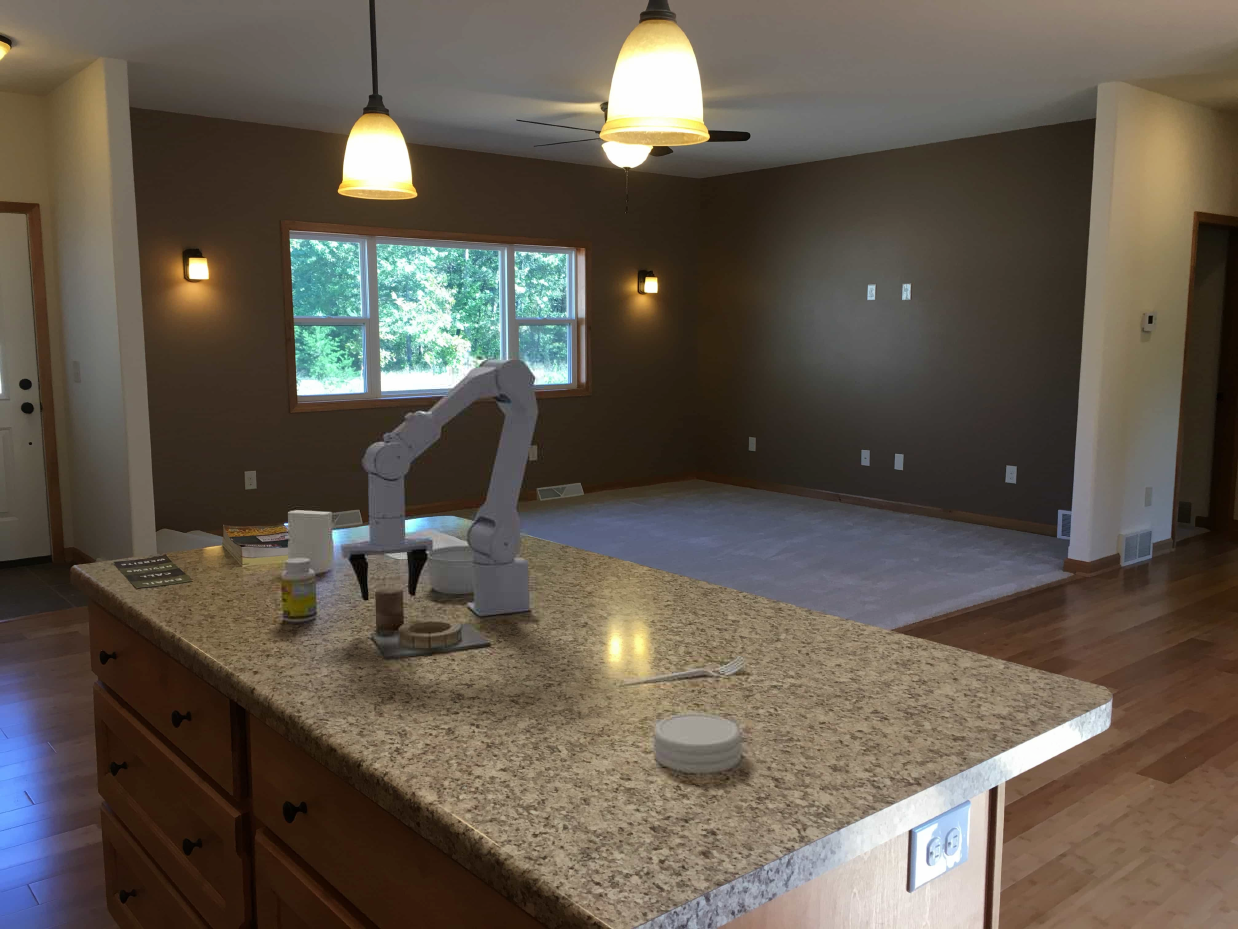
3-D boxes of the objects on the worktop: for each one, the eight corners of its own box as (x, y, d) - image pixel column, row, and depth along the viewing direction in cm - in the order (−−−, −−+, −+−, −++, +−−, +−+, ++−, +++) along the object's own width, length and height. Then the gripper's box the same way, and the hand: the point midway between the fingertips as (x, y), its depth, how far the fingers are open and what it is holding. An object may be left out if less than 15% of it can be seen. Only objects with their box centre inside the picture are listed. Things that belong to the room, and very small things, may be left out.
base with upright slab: (280, 572, 200) (277, 514, 199) (306, 563, 209) (304, 507, 207) (318, 575, 198) (315, 517, 196) (342, 565, 206) (341, 509, 205)
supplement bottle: (283, 615, 168) (280, 557, 167) (316, 613, 169) (314, 555, 168) (282, 624, 162) (279, 564, 161) (317, 622, 164) (314, 562, 163)
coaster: (734, 739, 116) (734, 711, 116) (747, 776, 106) (748, 745, 106) (650, 740, 116) (650, 712, 115) (656, 777, 106) (656, 746, 105)
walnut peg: (400, 621, 164) (399, 587, 164) (406, 628, 160) (405, 593, 160) (373, 624, 163) (372, 589, 162) (379, 632, 159) (378, 596, 158)
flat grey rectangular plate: (468, 625, 162) (468, 612, 162) (490, 645, 151) (490, 631, 151) (371, 637, 155) (371, 623, 155) (387, 659, 144) (386, 644, 144)
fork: (610, 687, 135) (610, 674, 135) (739, 667, 142) (739, 655, 142) (618, 695, 132) (618, 682, 132) (749, 675, 139) (749, 662, 139)
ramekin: (489, 596, 181) (489, 560, 180) (419, 596, 181) (418, 559, 181) (499, 579, 194) (499, 545, 194) (434, 579, 195) (433, 545, 194)
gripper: (425, 509, 166) (426, 587, 167) (337, 514, 160) (339, 595, 161) (435, 515, 160) (436, 596, 161) (344, 521, 153) (346, 605, 155)
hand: (388, 596), depth 161 cm, fingers open, 7 cm apart
